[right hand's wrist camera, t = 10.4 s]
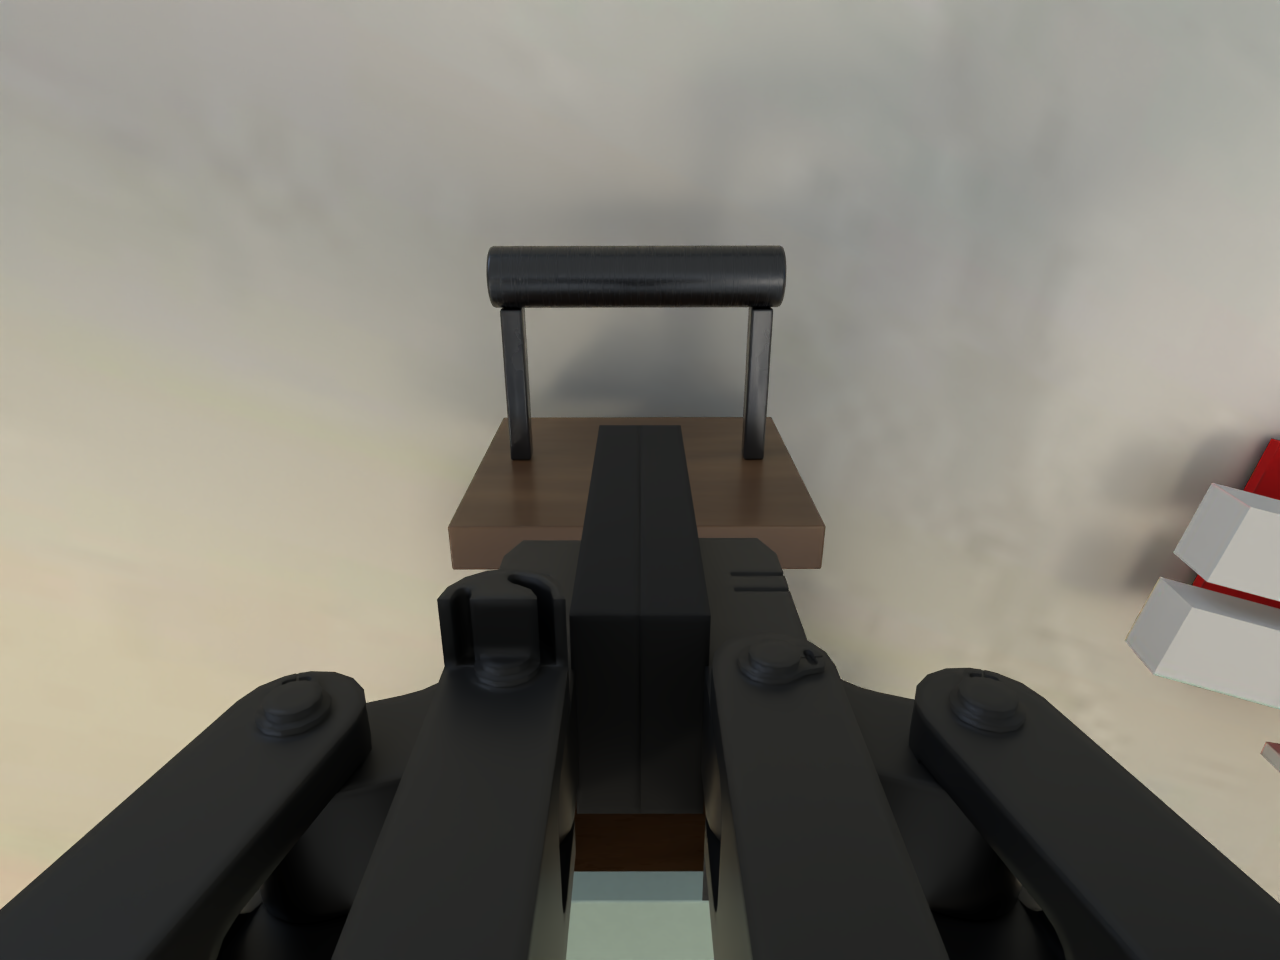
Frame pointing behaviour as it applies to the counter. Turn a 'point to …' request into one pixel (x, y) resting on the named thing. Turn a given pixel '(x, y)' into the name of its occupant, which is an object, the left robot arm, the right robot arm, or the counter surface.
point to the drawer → (565, 447)
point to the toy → (1223, 597)
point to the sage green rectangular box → (639, 916)
